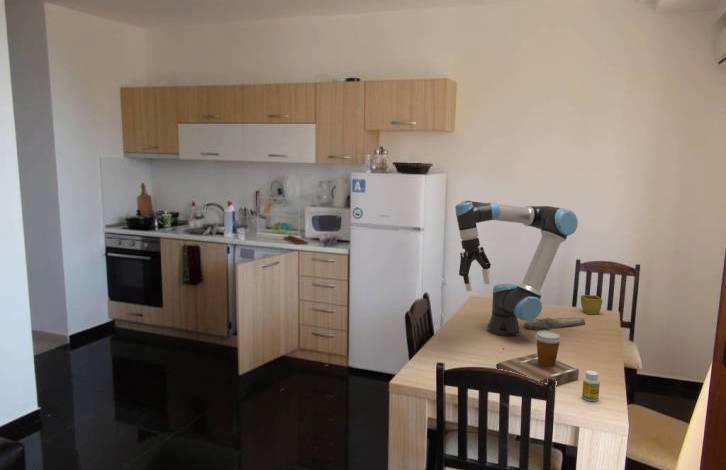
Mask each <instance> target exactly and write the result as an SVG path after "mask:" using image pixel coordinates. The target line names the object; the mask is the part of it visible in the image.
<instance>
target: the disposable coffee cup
mask: <svg viewBox="0 0 726 470" xmlns="http://www.w3.org/2000/svg"><path fill="white" fill-rule="evenodd" d="M534 337H535V339H536V351H537V352H536V353H538V364H540V365H542V366H545V367H553V366H555V362H556V360H557V358H558V357H557V356H558V352H559V346H560V342H561V341H562V338H561V334H560V333H558V332H555V331H550V330H540V331H537V332H536V334H535V335H534Z"/></svg>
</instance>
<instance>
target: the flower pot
mask: <svg viewBox="0 0 726 470" xmlns="http://www.w3.org/2000/svg"><path fill="white" fill-rule="evenodd" d="M580 304H581V305H580V306H581V308H582V311H583V312H584V313H585V314H586V315H597V314H598V313H599V312H600V311H601V308H602V306H603V305H602V304H603V299H602V298H601V297H599V296H598V295H596V294H595V295H594V294H592V295H590V294H589V295H588V294H582V295H581V294H580Z"/></svg>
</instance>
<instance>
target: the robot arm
mask: <svg viewBox="0 0 726 470" xmlns="http://www.w3.org/2000/svg"><path fill="white" fill-rule="evenodd" d="M454 208H455V216H456V221H457V225H458V231H459V236H460V240H461V242H460V243H461V247H462V249H463V250H464V251H462V252H460V260H459V270H458V271H459V273H458V275H459V276H461V277H463V283H464V286H465V291H466V292H472V291H473V290H474V289H473V285H472V279H471V276H470V269H471V266H472V263H473V262H474V261H476V262H477V263H478V264H479V265H480V267H481V272H482V277H483V284H484V285H490V284H491V278H490V269H491V266H492V264H491V262H490V261H489V258H488V256H487V254H486V252H485V250H484V247H483V246H481V245H480V244H481V242H480V239H479V232H478V228H477V224H479V223H483V222H489V221H497V222H506V223H508V222H509V223H517V224H522V225H523V226H525V227H532V228H535V229H538V230H540V233H541V237H540V241H539V243H538V244H537V248H536V250H535V252H534V254H533V256H532V259H531V261H530V263H529V266H528V268H527V270H526V273H525V275H524V278H523V280H522V283H520V284H518V285H517V284H511V283H508V284H507V283H505V284H504V283H502V284H501V283H500V284H496V285H494V286H493V288H492V305H491V306H492V308H491V315H490V320H489V321H488V324H487V331H488V332H489V333H490V334H492V335H495V336H502V337H513V336H514V337H515V336H518V335H519V334H520V333H521V332H520V331H521V328H520V326H519V325H520V324H519V320H521V321H524V322H527V321H531V320H535V319H537V317H539V315H540V314H541V312H542V309H543V306H542V301H541V299H542V293H541V289H542V287H543V285H544V282H545V280H546V278H547V276H548V274H549V271H550V268H551V266H552V264H553V261H554V260H555V257H556V255H557V252H558V249H559V248H560V246H561V244H562V243H564V242H565V241H566V240H567V239H568V236H571V235H572V234H574V233H575V232H576V230H577V228H578V226H579V223H578V222H579V221H578V218H577V214H576V213H575V212H574V211H573V210H571V209H568V208H565V207H556V206H549V205H539V206H538V205H537V206H536V205H535V206H533V205H526V206H523V207H522V206H517V205H516V206H515V205H507V204H498V203H497V202H494V201H493V202H488V203H487V202H480V201H472V200H462V201H461V202H460V203H458V204H456V205H455V207H454Z"/></svg>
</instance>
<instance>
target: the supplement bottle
mask: <svg viewBox="0 0 726 470" xmlns="http://www.w3.org/2000/svg"><path fill="white" fill-rule="evenodd" d="M600 382H601V380H600V379H599V373H598V371H595V370H586V371H585V376H583V380H582V393H581V394H582V395H581V396H582V398H583V399H584V400H585V401H588V402H597V401H598V400H599V394H600V384H601V383H600Z"/></svg>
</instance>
